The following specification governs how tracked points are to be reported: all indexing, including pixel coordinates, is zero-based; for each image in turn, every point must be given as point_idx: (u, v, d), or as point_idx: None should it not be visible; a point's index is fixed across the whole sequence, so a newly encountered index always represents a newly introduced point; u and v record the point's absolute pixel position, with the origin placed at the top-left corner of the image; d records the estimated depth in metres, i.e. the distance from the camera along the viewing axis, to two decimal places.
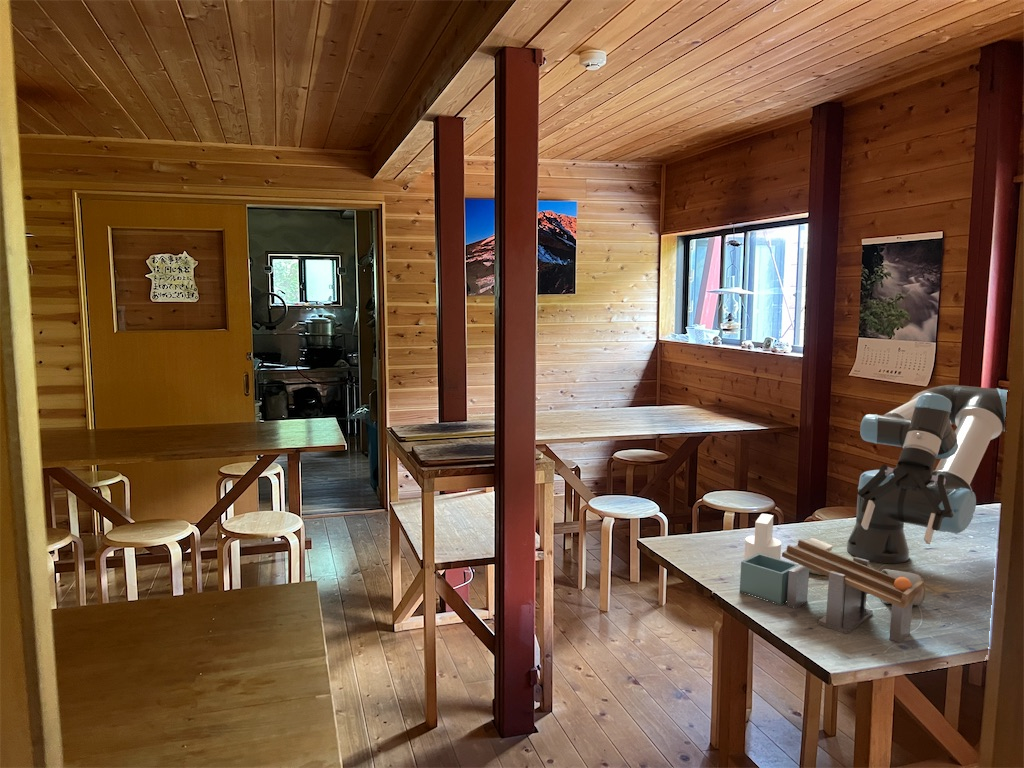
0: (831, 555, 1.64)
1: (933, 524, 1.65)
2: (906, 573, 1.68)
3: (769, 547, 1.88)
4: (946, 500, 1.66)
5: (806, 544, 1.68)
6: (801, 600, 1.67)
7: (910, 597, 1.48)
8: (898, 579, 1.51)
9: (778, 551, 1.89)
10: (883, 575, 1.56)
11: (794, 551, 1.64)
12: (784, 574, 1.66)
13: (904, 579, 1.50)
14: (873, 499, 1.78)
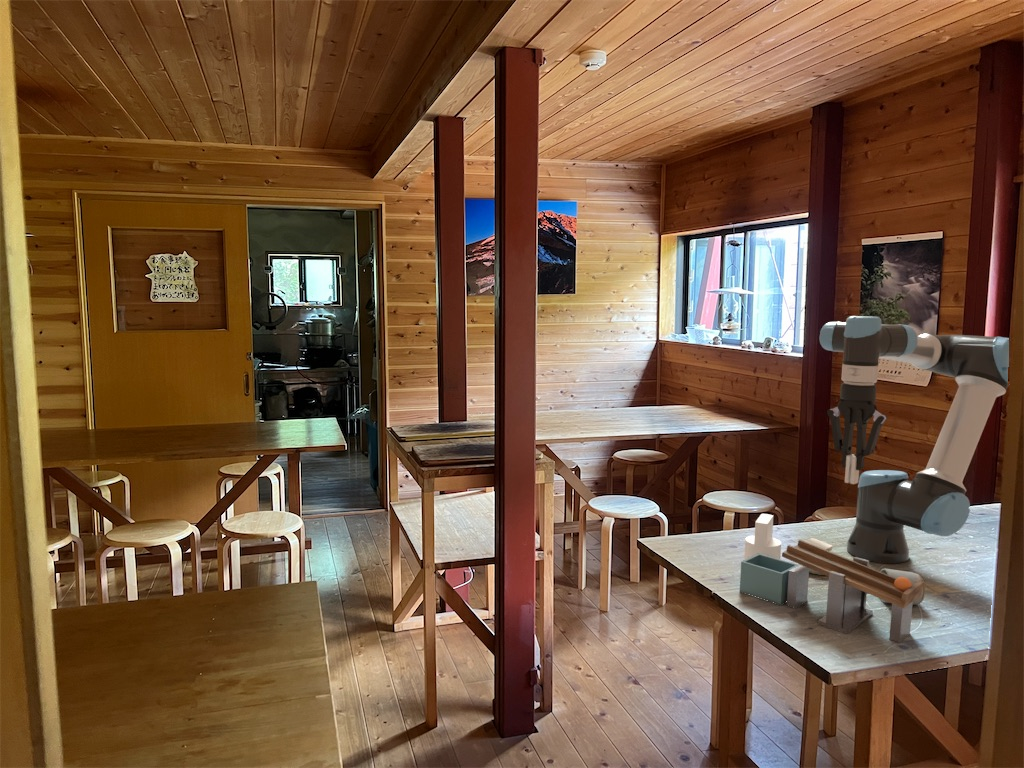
0: (831, 555, 1.64)
1: (856, 466, 1.71)
2: (905, 572, 1.68)
3: (769, 547, 1.88)
4: (871, 443, 1.68)
5: (806, 544, 1.68)
6: (801, 600, 1.67)
7: (910, 597, 1.48)
8: (898, 579, 1.51)
9: (778, 551, 1.89)
10: (883, 575, 1.56)
11: (794, 551, 1.64)
12: (784, 574, 1.66)
13: (904, 579, 1.50)
14: (849, 447, 1.73)
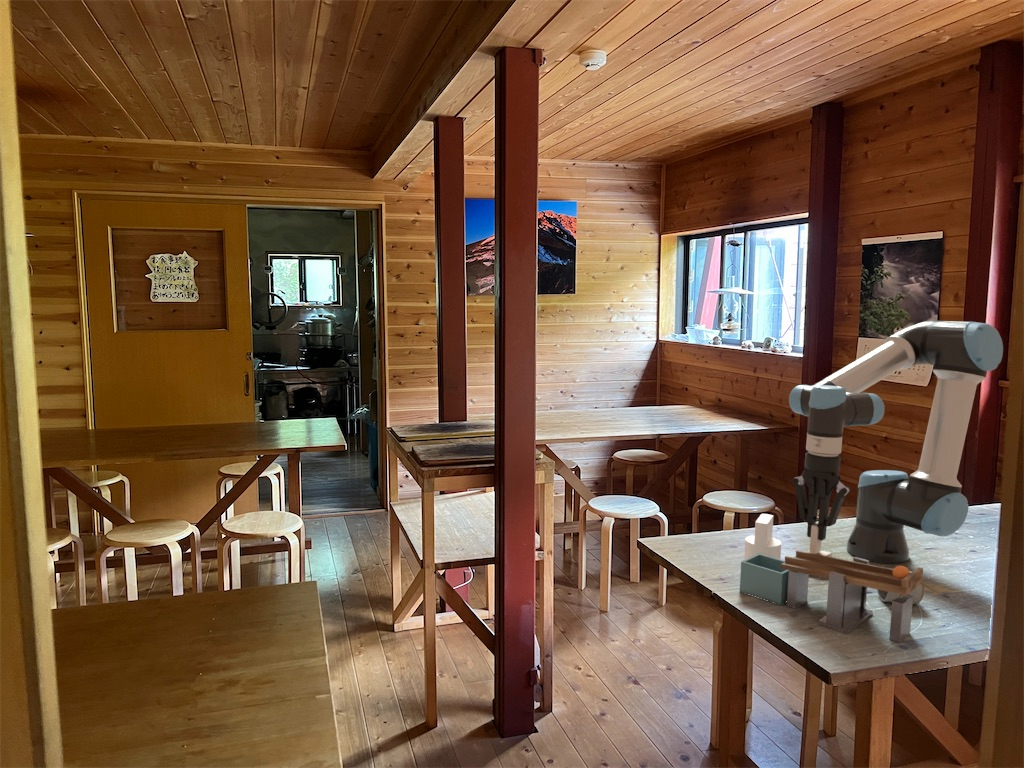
0: (829, 559, 1.64)
1: (818, 536, 1.70)
2: None
3: (769, 547, 1.88)
4: (833, 514, 1.67)
5: (804, 553, 1.68)
6: (801, 600, 1.67)
7: (910, 584, 1.48)
8: (895, 568, 1.51)
9: (778, 551, 1.89)
10: (882, 569, 1.56)
11: (792, 561, 1.65)
12: (784, 574, 1.66)
13: (900, 567, 1.51)
14: (814, 517, 1.72)
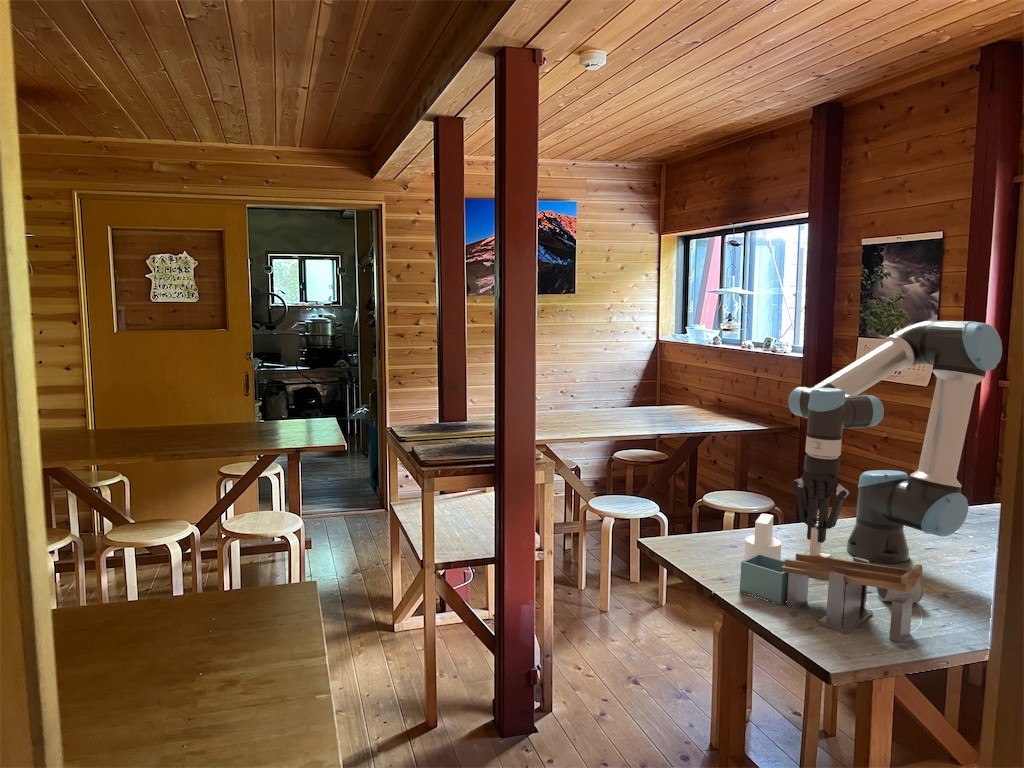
0: (829, 561, 1.64)
1: (818, 539, 1.70)
2: None
3: (769, 547, 1.88)
4: (833, 517, 1.67)
5: (803, 556, 1.69)
6: (801, 600, 1.67)
7: (910, 580, 1.48)
8: None
9: (778, 551, 1.89)
10: (882, 567, 1.56)
11: (792, 563, 1.65)
12: (784, 574, 1.66)
13: None
14: (814, 519, 1.72)
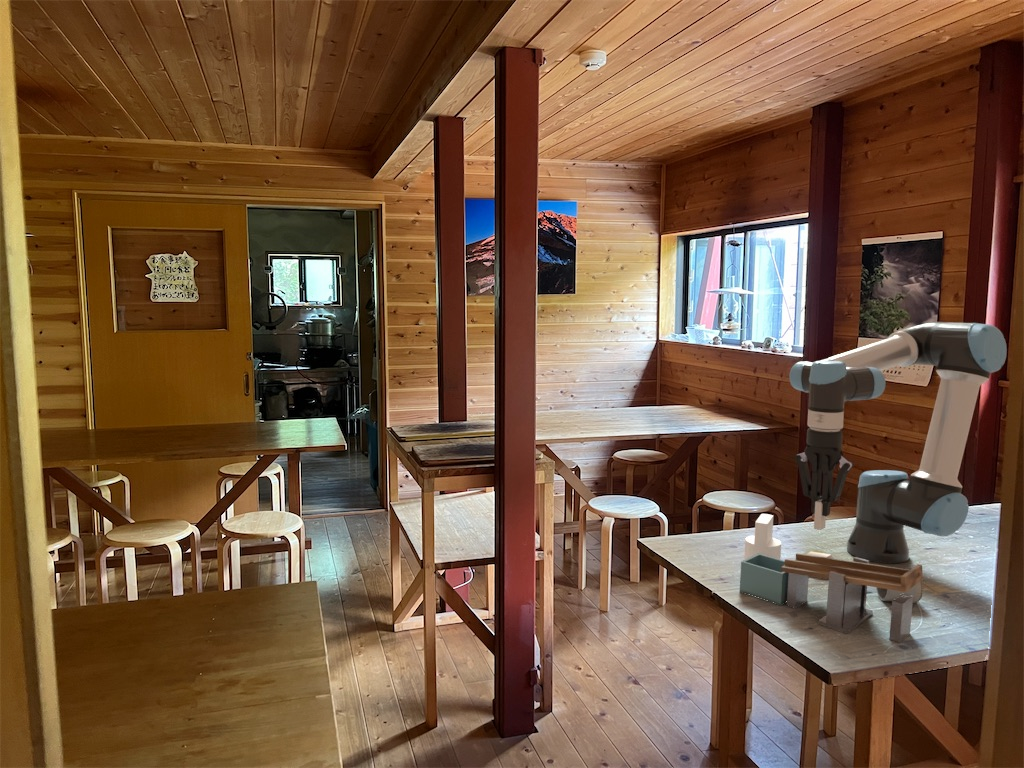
0: (829, 561, 1.64)
1: (822, 512, 1.69)
2: None
3: (769, 547, 1.88)
4: (837, 490, 1.66)
5: (803, 556, 1.69)
6: (801, 600, 1.67)
7: (910, 580, 1.48)
8: None
9: (778, 551, 1.89)
10: (882, 567, 1.56)
11: (792, 563, 1.65)
12: (784, 574, 1.66)
13: None
14: (818, 493, 1.71)
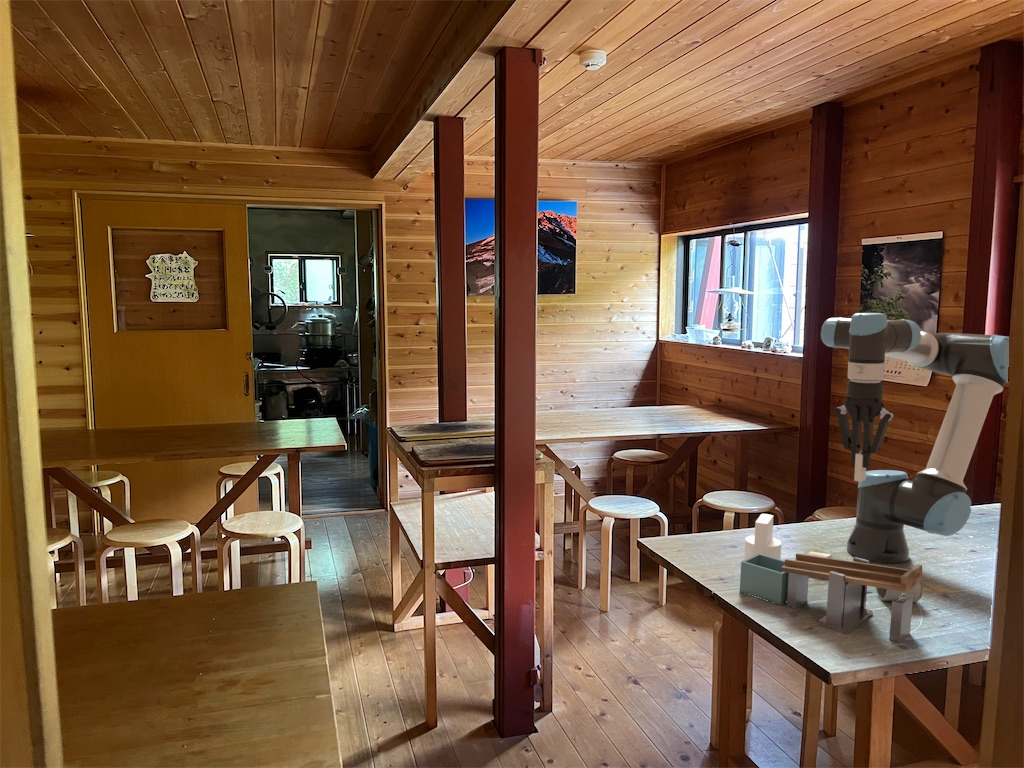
0: (829, 561, 1.64)
1: (863, 464, 1.70)
2: None
3: (769, 547, 1.88)
4: (877, 441, 1.67)
5: (803, 556, 1.69)
6: (801, 600, 1.67)
7: (910, 580, 1.48)
8: None
9: (778, 551, 1.89)
10: (882, 567, 1.56)
11: (792, 563, 1.65)
12: (784, 574, 1.66)
13: None
14: (858, 445, 1.72)
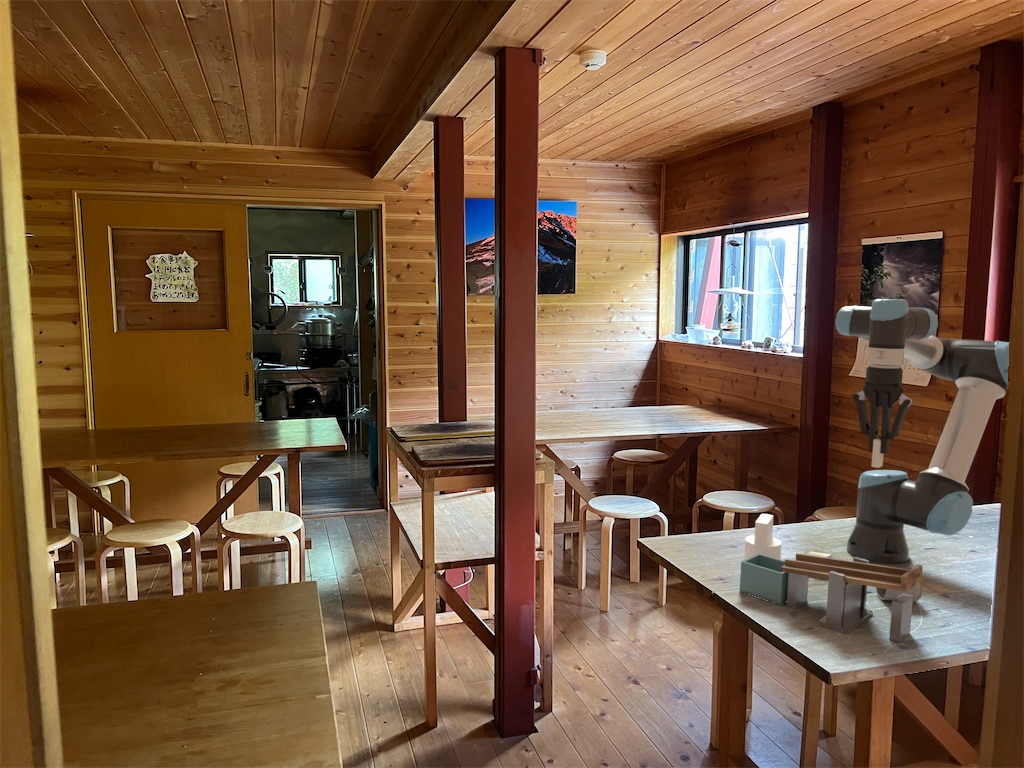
0: (829, 561, 1.64)
1: (881, 450, 1.71)
2: None
3: (769, 547, 1.88)
4: (896, 426, 1.67)
5: (803, 556, 1.69)
6: (801, 600, 1.67)
7: (910, 580, 1.48)
8: None
9: (778, 551, 1.89)
10: (882, 567, 1.56)
11: (792, 563, 1.65)
12: (784, 574, 1.66)
13: None
14: (876, 431, 1.73)
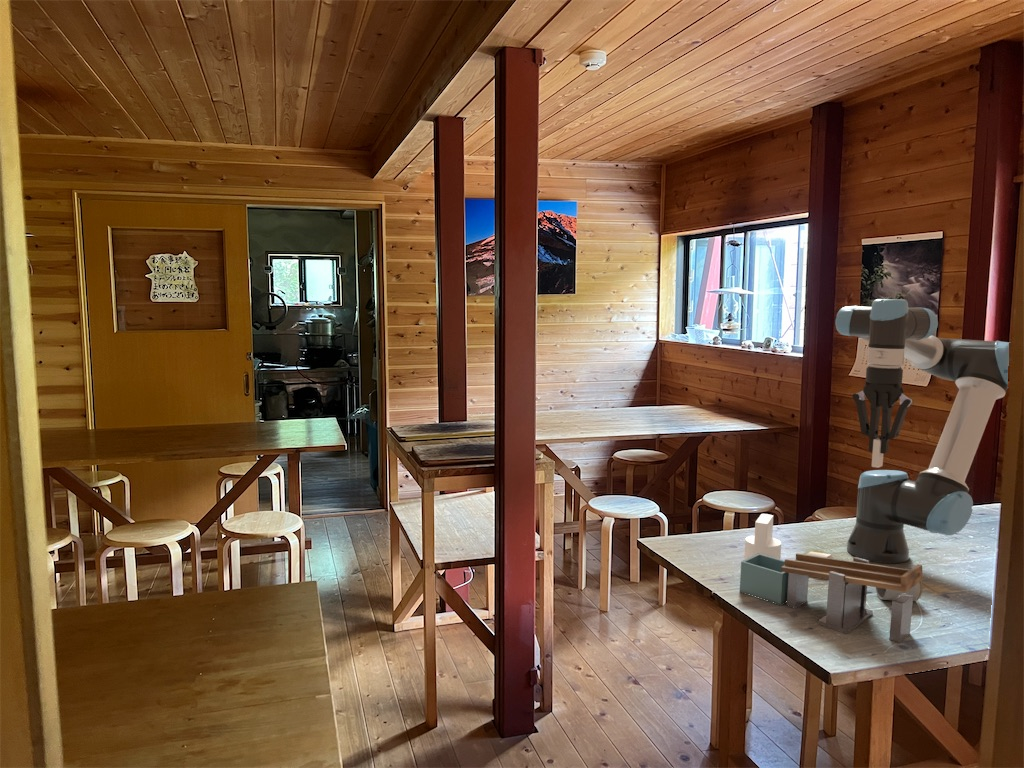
0: (829, 561, 1.64)
1: (881, 450, 1.71)
2: None
3: (769, 547, 1.88)
4: (896, 426, 1.67)
5: (803, 556, 1.69)
6: (801, 600, 1.67)
7: (910, 580, 1.48)
8: None
9: (778, 551, 1.89)
10: (882, 567, 1.56)
11: (792, 563, 1.65)
12: (784, 574, 1.66)
13: None
14: (876, 431, 1.73)
